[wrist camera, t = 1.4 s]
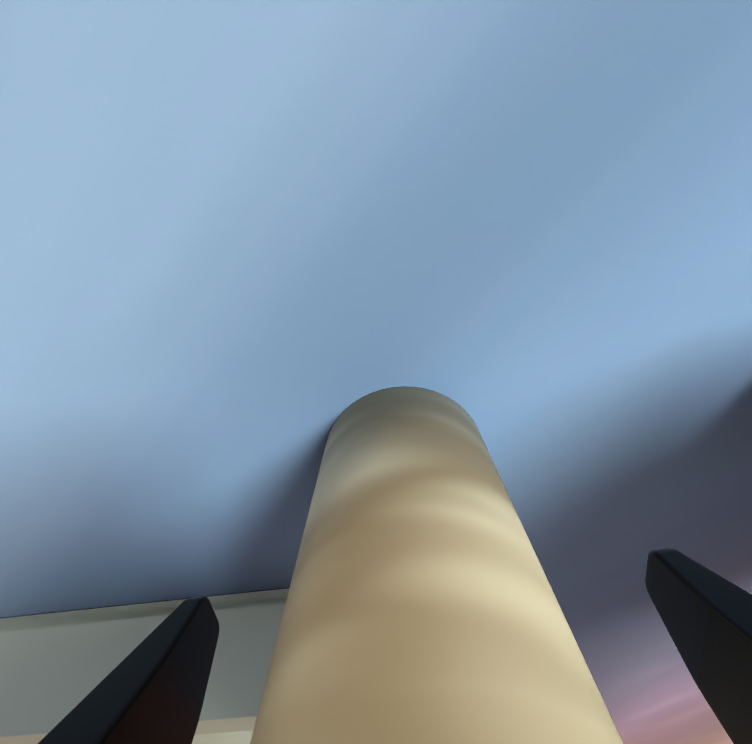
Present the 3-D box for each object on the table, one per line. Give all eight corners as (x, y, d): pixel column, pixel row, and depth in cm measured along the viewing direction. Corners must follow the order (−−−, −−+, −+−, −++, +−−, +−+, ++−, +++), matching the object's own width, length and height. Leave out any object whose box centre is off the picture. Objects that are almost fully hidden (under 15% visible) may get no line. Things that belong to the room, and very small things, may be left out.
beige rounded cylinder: (478, 375, 11) (663, 672, 4) (487, 512, 13) (626, 897, 6) (309, 399, 12) (181, 712, 4) (341, 529, 13) (290, 913, 6)
